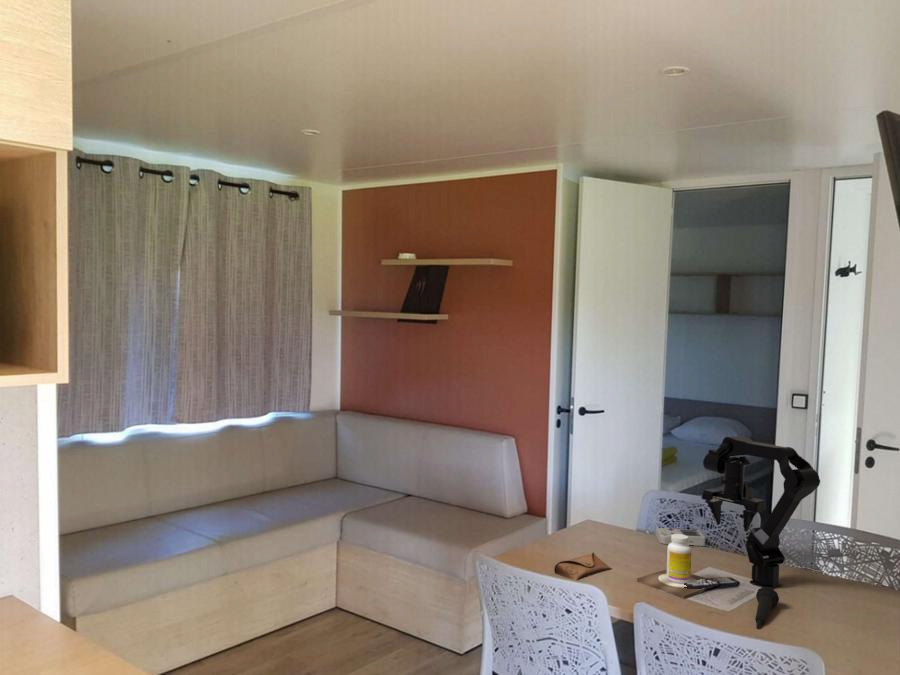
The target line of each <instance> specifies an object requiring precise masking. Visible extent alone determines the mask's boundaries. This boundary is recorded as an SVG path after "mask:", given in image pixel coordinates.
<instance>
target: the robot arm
mask: <svg viewBox="0 0 900 675" xmlns="http://www.w3.org/2000/svg"><path fill="white" fill-rule="evenodd" d="M738 456H739V457H738ZM746 456H752V457H757V458H764V459H769V460H773V461H777V463H778V467H779V471H780V474H781V476H783V478H784V481H783V484H782V485H783V493H782V495H781V496H780V498H779V499H778V501H777V503H776V504H775V506H774V508H773V509H772V511H771V513H770V514H769V516H768V517H767V519H766V521H765V522H764V524H763V525H762V526H761V527H760V526H758V527H753V528H751V530H750V531H749V529H750V526H751V524H752V522H753V520H754V517H755V516H756V515H757V514H758V513H761V512H762V511H766V510H767V503H766V501H765V500H764V499H761V498H755V497H754V493H755V488H753V487H751V486H748V485H747V483H748V482H747V480H745V466H748V465H749V466H750V465H751V462H750V461H749V460H748V458H747V457H746ZM702 464H703V467H704V469H705V470H707V471H709V472H710V471H711V472H713V473H716V474H721V475H723V479H721V484H723V491H722V490H720V489H717V488H708V489H703V491H702V492H701V500H705V501H704V502H705V503H706V504H707V505H708V507H709V508H710V511H711V513H712V515H713V518H714V519H715V522H716V525H720V524H721V520H722V505H723V502H724V501H725V502H728V503H732V504H737V505H739V506H743V507H744V509H743V510H742V515H743V530H744V532H748V531H749V532H750V533H749V534H748V535H747V536H746V537H745V539H746V541H745V546H746V552H747V557H748V560H749V561H748V562H749V563H750V564H752V565H751V580H750V581H749V583H750V584H753V585H755V586H758V587H760V588H762V587H770V588H772V589H773V590H774V589H775V588H778V587H780V586H782V582H780V581H779V578H780V565H782V564H784V562H785V560H786V557H785V556H784V553H783V552H782V550H781V549H780V547H779V546H780V543H781V541H780V535H781V533H783V530H784V528H785V527H786V525H787V524H788V522H789V520H790V519H791V517H792V516H793V514H794V513H795V511H796V510H797V508H798V507H799V505H800V503H801V501H802V500H804V499H805V498H806V497H809V495H811V494H812V493H814V491H815V490H816V489H817V488H818V487H819V486H820V483H821V479H820V476H819V474H818V472H817V470H815V469H814V468H813V466H812V465H811V463H809V462H808V461H807V460H806V459H804V458H803V457H802V456H801V455H799V453H798V452H797V450H796V449H794V448H793V447H790V446H781V445H776V444H775V445H774V444H768V443H761V442H757V441H753V440H752V439H751V438H749V437H746V436H743V435H740V436H739V435H738V436H737V435H736V436H735V435H734V436H725V437H724V438H723V439H722V441H721V444H720V445H719V447H717V449H712V448H711V449H708V453H707V454H706V455H705V456H704V458H703V460H702ZM790 464H791V465H792V466H793V467H795V469H793V468H792V467H791V465H790ZM747 498H748V499H747Z"/></svg>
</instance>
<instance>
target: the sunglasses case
mask: <svg viewBox="0 0 900 675" xmlns="http://www.w3.org/2000/svg"><path fill="white" fill-rule="evenodd" d="M612 569H613V568H612V567H610V566H609V565H607V563H605V562H604V561H603V560H602V559H601V558H599V557H598V556H597V555H596V554H595V552H591V553H589V554H586V555H581V556H578V557H573V558H571V559H567V560H563V561H562V560H561V561H559V562H558V563H556V564H555V566H554V574H556V575H558V576H561V577H564V578H566V579H570V580H573V581H575V582H576V581H580V580H581V579H583V578H587V577H589V576H593V575H596V574H599V573H602V572H606V571H610V570H612Z"/></svg>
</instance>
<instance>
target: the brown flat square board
mask: <svg viewBox="0 0 900 675" xmlns="http://www.w3.org/2000/svg"><path fill="white" fill-rule="evenodd" d="M700 579H707V578H706V577H702V576H700V575H697V574H695V573H694V574H693V573H691V577H690V581H689V582H688V583H687V584H689V583H694V582H697V580H700ZM636 581H637V582H639V583H641V584H644V585H647V586H650V587H651V588H654V589H658V590H659V591H662V592H666V593H668V594H671V595H673V596H676V597H678V598H681V599H687V598H690V597H693V596H695V595H698V594H700V593H699V592H700V591H703V590H704V589H705V588H702V589H687V588H684V587H687V586H686V585H684V583H675V582H672V581H670V580H668V579H667V568H666V569H663V570H660V571H655V572H653V573H650V574H646V575H643V576H640V577H637V578H636ZM697 593H698V594H697ZM694 594H695V595H694ZM692 595H693V596H692Z"/></svg>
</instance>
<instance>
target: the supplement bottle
mask: <svg viewBox="0 0 900 675" xmlns="http://www.w3.org/2000/svg"><path fill="white" fill-rule="evenodd" d="M671 540H672V543H670V544H667V552H666V569H667V579H668V580H670V581H672V582H675V583H688V582H689V581H690V577H691V574H692V573H691V572H692V571H691V569H692V568H691V567H692V546H689V545H687V542H688V536H686V535H683V534H672V535H671Z"/></svg>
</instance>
